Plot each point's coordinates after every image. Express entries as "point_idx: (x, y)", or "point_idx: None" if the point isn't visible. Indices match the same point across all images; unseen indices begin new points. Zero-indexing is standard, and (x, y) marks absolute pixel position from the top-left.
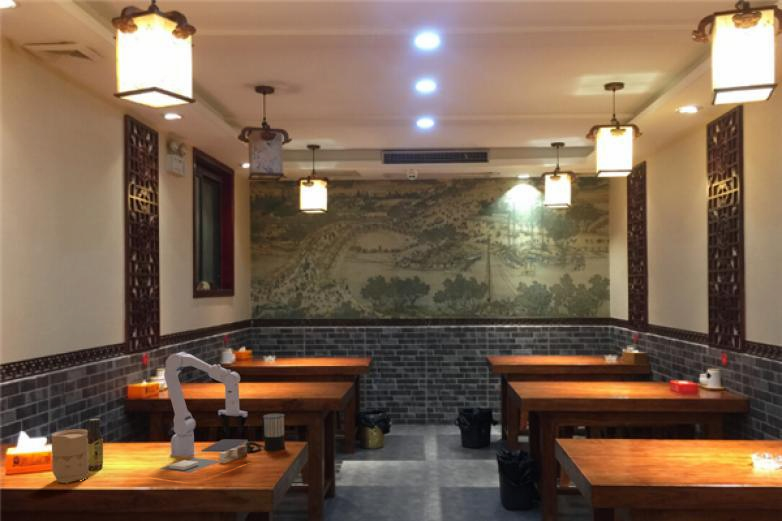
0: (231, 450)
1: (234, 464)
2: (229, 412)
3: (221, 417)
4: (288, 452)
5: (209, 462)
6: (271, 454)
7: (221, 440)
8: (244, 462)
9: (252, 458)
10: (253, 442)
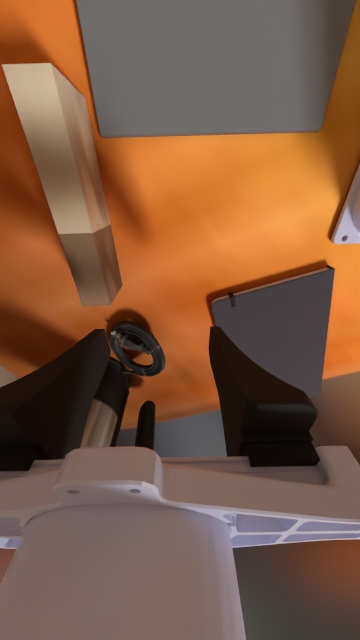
0: (48, 183)
1: (8, 134)
2: (71, 503)
3: (253, 402)
4: (29, 365)
5: (139, 58)
6: (49, 334)
7: (317, 386)
8: (10, 197)
9: (51, 269)
10: (154, 374)
